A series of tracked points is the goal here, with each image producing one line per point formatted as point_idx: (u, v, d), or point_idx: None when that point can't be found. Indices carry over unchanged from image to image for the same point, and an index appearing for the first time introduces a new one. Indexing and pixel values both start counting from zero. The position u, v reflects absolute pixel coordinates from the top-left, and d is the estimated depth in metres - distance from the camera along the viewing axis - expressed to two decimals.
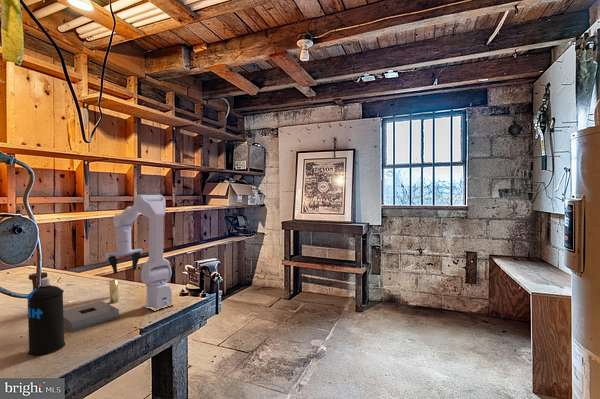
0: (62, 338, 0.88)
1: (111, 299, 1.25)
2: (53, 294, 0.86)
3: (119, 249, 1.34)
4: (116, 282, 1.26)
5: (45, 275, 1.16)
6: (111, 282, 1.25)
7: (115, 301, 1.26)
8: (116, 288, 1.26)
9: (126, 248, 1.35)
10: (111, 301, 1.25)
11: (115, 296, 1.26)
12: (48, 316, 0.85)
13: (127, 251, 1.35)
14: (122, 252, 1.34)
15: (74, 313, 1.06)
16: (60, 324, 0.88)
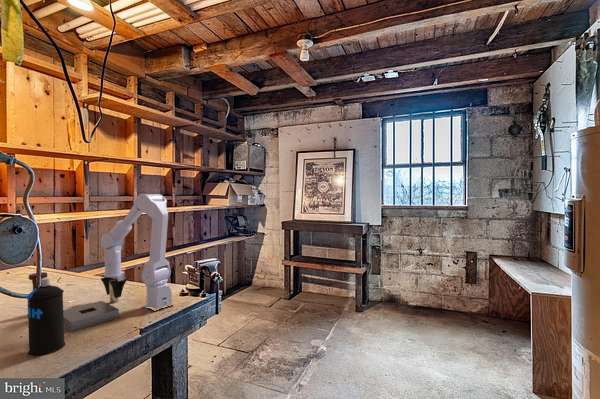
0: (62, 338, 0.88)
1: (111, 299, 1.25)
2: (53, 294, 0.86)
3: None
4: None
5: (45, 275, 1.16)
6: None
7: (115, 301, 1.26)
8: None
9: (105, 271, 1.24)
10: (111, 301, 1.25)
11: None
12: (48, 316, 0.85)
13: (105, 274, 1.24)
14: (104, 274, 1.26)
15: (74, 313, 1.06)
16: (60, 324, 0.88)
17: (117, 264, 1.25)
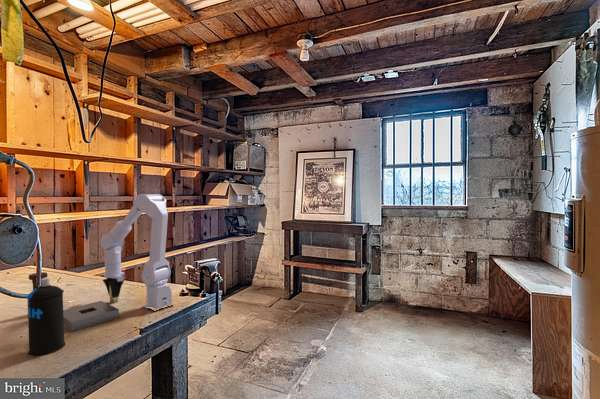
0: (62, 338, 0.88)
1: (111, 299, 1.25)
2: (53, 294, 0.86)
3: None
4: None
5: (45, 275, 1.16)
6: None
7: (115, 301, 1.26)
8: None
9: (105, 272, 1.24)
10: (111, 301, 1.25)
11: None
12: (48, 316, 0.85)
13: (105, 275, 1.24)
14: (104, 275, 1.26)
15: (74, 313, 1.06)
16: (60, 324, 0.88)
17: (117, 265, 1.25)
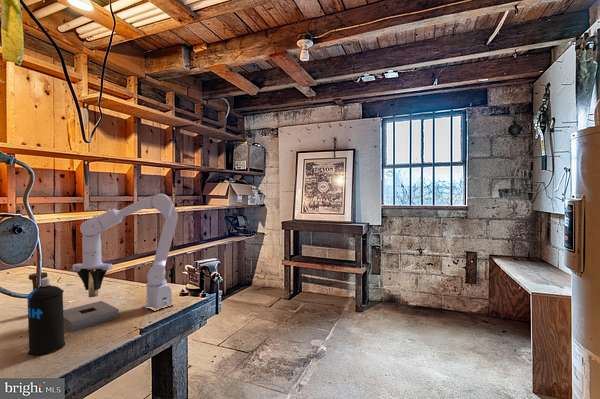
0: (62, 338, 0.88)
1: (92, 292, 1.11)
2: (53, 294, 0.86)
3: None
4: None
5: (45, 275, 1.16)
6: None
7: (97, 294, 1.12)
8: None
9: (85, 262, 1.10)
10: (92, 295, 1.11)
11: None
12: (48, 316, 0.85)
13: (86, 266, 1.10)
14: (82, 266, 1.10)
15: (74, 313, 1.06)
16: (60, 324, 0.88)
17: (100, 253, 1.13)
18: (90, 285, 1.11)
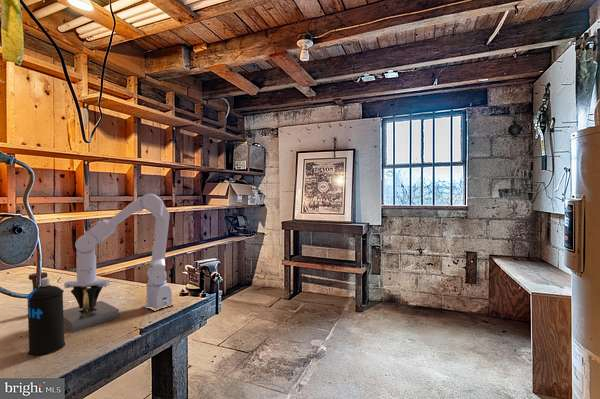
0: (62, 338, 0.88)
1: (87, 310, 1.08)
2: (53, 294, 0.86)
3: (77, 279, 1.07)
4: None
5: (45, 275, 1.16)
6: None
7: None
8: None
9: (81, 279, 1.06)
10: None
11: None
12: (48, 316, 0.85)
13: (82, 283, 1.06)
14: (77, 284, 1.06)
15: (74, 313, 1.06)
16: (60, 324, 0.88)
17: (95, 269, 1.10)
18: (85, 303, 1.08)
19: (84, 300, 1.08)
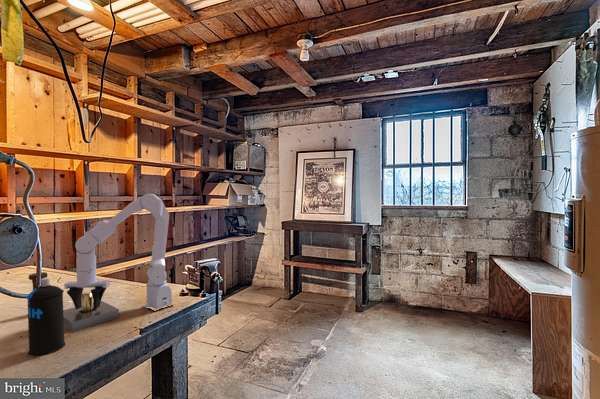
0: (62, 338, 0.88)
1: None
2: (53, 294, 0.86)
3: (77, 280, 1.07)
4: None
5: (45, 275, 1.16)
6: (88, 295, 1.08)
7: None
8: (92, 302, 1.10)
9: (81, 280, 1.06)
10: None
11: None
12: (48, 316, 0.85)
13: (82, 284, 1.06)
14: (77, 284, 1.06)
15: (74, 313, 1.06)
16: (60, 324, 0.88)
17: (95, 270, 1.10)
18: (85, 308, 1.08)
19: (84, 305, 1.08)
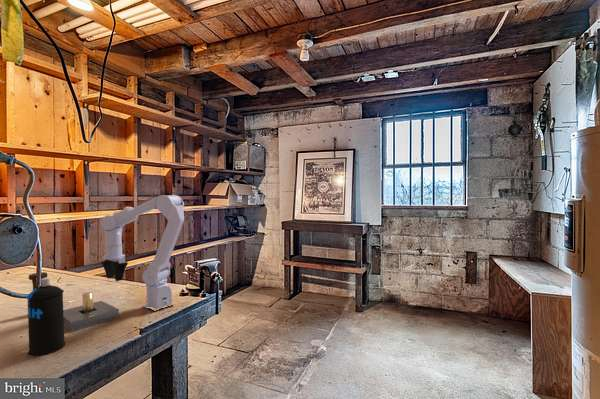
0: (62, 338, 0.88)
1: None
2: (53, 294, 0.86)
3: None
4: (92, 295, 1.10)
5: (45, 275, 1.16)
6: (88, 295, 1.08)
7: None
8: (92, 302, 1.10)
9: (106, 253, 1.20)
10: None
11: None
12: (48, 316, 0.85)
13: (106, 257, 1.20)
14: (105, 257, 1.21)
15: (74, 313, 1.06)
16: (60, 324, 0.88)
17: (118, 246, 1.21)
18: (85, 308, 1.08)
19: (84, 305, 1.08)
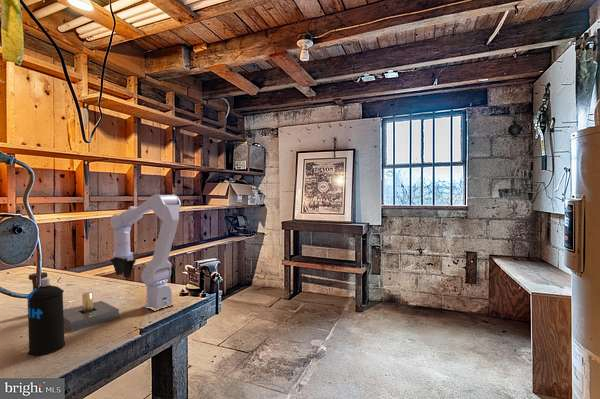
0: (62, 338, 0.88)
1: None
2: (53, 294, 0.86)
3: None
4: (92, 295, 1.10)
5: (45, 275, 1.16)
6: (88, 295, 1.08)
7: None
8: (92, 302, 1.10)
9: (115, 251, 1.25)
10: None
11: None
12: (48, 316, 0.85)
13: (115, 255, 1.25)
14: (114, 254, 1.27)
15: (74, 313, 1.06)
16: (60, 324, 0.88)
17: (126, 244, 1.26)
18: (85, 308, 1.08)
19: (84, 305, 1.08)
